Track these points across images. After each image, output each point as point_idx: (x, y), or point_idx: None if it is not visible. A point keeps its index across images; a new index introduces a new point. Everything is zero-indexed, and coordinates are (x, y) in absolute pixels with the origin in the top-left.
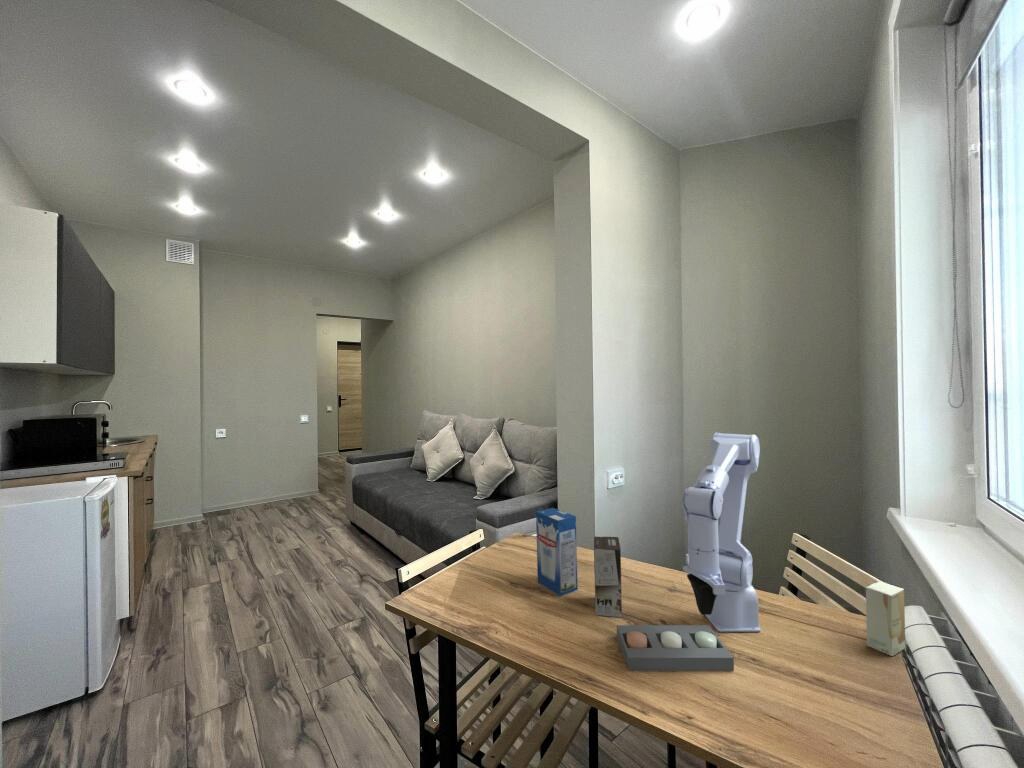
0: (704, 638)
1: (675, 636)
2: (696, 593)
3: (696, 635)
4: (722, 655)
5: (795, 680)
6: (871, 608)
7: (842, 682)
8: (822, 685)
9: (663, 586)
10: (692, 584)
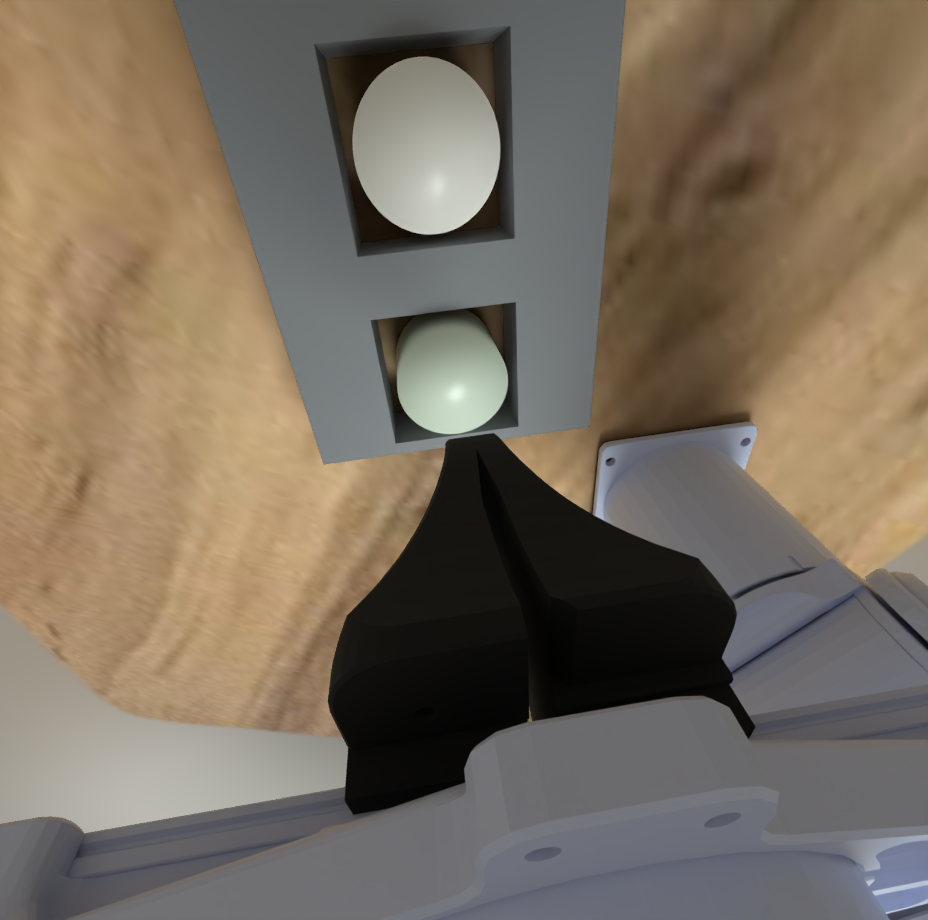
0: (437, 377)
1: (438, 193)
2: (475, 525)
3: (464, 340)
4: (328, 424)
5: (330, 586)
6: None
7: None
8: (326, 631)
9: None
10: (535, 564)
